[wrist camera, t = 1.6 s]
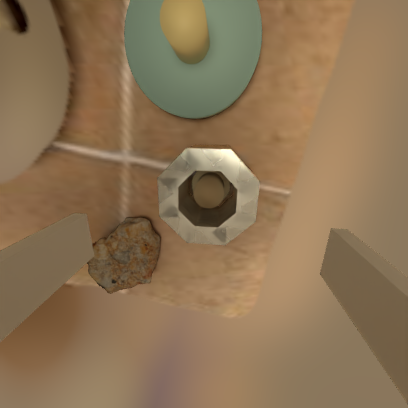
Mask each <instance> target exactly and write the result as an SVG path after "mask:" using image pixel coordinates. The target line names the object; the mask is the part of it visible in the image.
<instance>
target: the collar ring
mask: <svg viewBox="0 0 408 408" xmlns="http://www.w3.org/2000/svg"><path fill="white" fill-rule="evenodd" d="M195 170H197V171H221V172H222V173H223V174H224V175H225V177H226V178H227V179H228V180H229V181H230V182H231V183H232V184H233V185H234V187H233V195H232V196H230V197H229V198H228V199H227V200H226V201H225V202H223V203H222V204H221V205H220V206H216V207H214V208H204V207H202V206H200V205H199V204H198V203H197V202H196V201H195V199H194V197H193V196H192V195H191V194H190V193H189V176H190V175H191V174H192V173H193V172H194V171H195ZM157 181H158V199H159V217H160V218H161V219H163V220H164V221H165V222H166V223H167V224H168V225H169V226H170V227H171V228H172V229H173V230H174V231H175V232H176V233H177V234H178V235H179V236H180V237H182V238H183V239H184V240H185V241H186V242H187V243H198V244H214V245H226V244H227V243H229V242H230V241H231V240H233V239H234V238H235V237H236V236H238V235H239V234H240V233H242V232H243V231H244V230H246V229H247V228H248V227H249V226H251V225H252V224H253V223H255V222H256V213H257V204H258V195H259V186H260V181H259V180H258V178H257V177H256V176H255V174H254V173H253V172H252V170H251V169H250V168H249V167H248V166H247V165H246V164H245V163H244V162H243V160H242V159H241V158H240V157H239V156H238V155H237V154H236V153H235V152H234V150H233V149H232V148H231V147H230V146H229V145H193V146H190V147H188V148H186V149H185V150H184V151H183V152H182V153H181V154H180V155H179V156H178V157H177V158H176V159H175V160H174V161H173V162H172V163H171V164H170V165H169V167H168V168H167V169H166V170H165V171H164V172H163V173H162V174H161V175H160V176H159V177H158V178H157Z"/></svg>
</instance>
